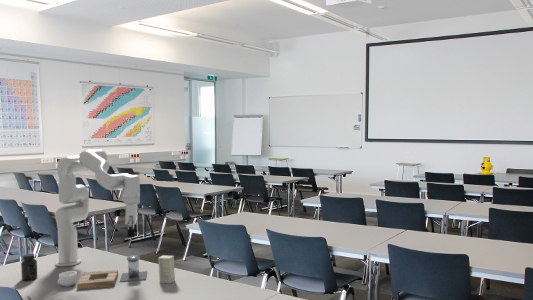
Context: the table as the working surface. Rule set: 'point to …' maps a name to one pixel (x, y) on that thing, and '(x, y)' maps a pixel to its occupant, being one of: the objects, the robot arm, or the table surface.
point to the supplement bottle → (29, 267)
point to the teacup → (67, 278)
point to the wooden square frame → (97, 279)
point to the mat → (125, 278)
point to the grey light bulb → (133, 266)
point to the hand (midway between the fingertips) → (131, 234)
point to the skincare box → (166, 269)
